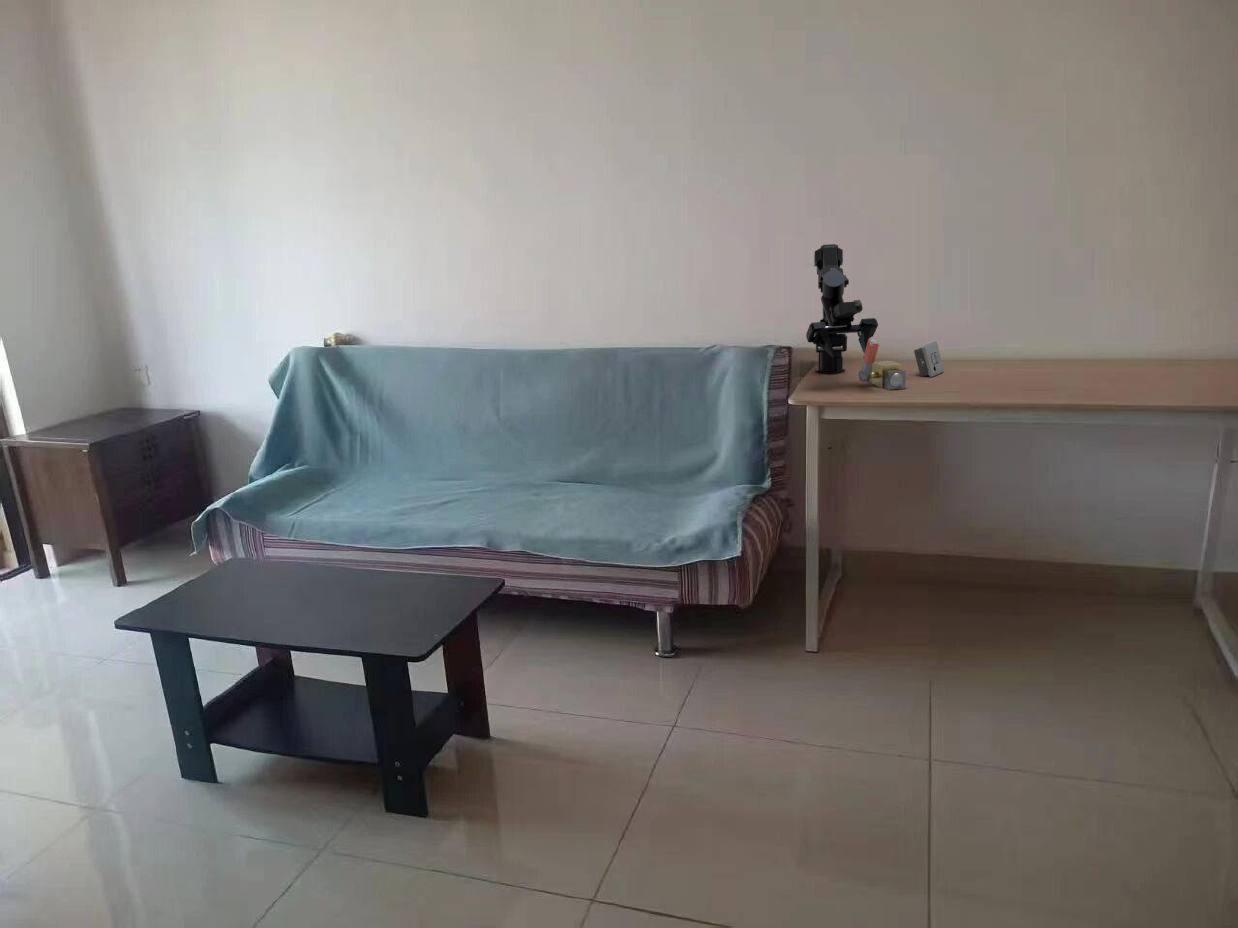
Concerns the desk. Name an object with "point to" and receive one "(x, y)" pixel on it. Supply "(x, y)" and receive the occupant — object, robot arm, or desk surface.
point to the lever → (868, 359)
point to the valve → (888, 375)
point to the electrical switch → (929, 359)
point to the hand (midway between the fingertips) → (849, 354)
